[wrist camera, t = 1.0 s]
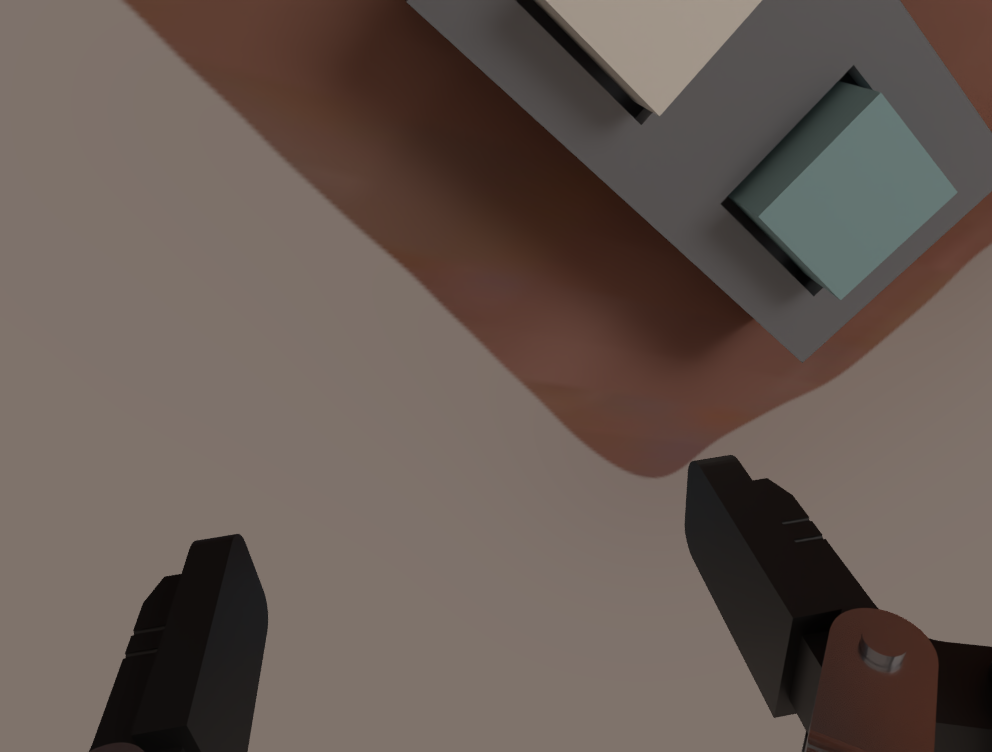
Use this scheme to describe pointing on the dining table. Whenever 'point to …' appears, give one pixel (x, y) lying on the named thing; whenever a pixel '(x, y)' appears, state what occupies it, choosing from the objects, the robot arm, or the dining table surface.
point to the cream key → (649, 40)
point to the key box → (736, 132)
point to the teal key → (844, 188)
